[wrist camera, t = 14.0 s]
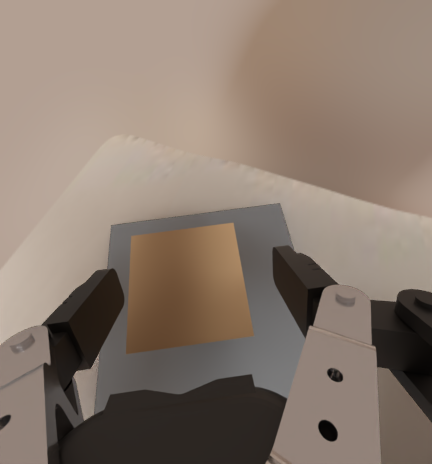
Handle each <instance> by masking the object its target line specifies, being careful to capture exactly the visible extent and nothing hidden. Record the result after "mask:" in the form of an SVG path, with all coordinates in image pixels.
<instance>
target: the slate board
mask: <svg viewBox="0 0 432 464" xmlns="http://www.w3.org/2000/svg"><path fill="white" fill-rule="evenodd" d="M227 223H234V229H235V234H236V240H237V245H238V250H239V256H240V261H241V267H242V272H243V278H244V283H245V289H246V294H247V300H248V305H249V311H250V316H251V321H252V327H253V332H254V336H251V337H244V338H237V339H230V340H223V341H216V342H209V343H202V344H195V345H188V346H181V347H174V348H167V349H160V350H153V351H146V352H139V353H132V354H126V339H127V317H128V296H129V274H130V253H131V236H135V235H143V234H150V233H158V232H166V231H173V230H181V229H188V228H196V227H204V226H211V225H219V224H227ZM285 245H289V246H290V247H291V248H292V249H293V250H294V248H293V245H292V242H291V238H290V235H289V232H288V228H287V225H286V222H285V219H284V215H283V212H282V209H281V205H280V203H278V204H270V205H263V206H255V207H247V208H240V209H232V210H224V211H217V212H209V213H202V214H194V215H186V216H179V217H171V218H163V219H156V220H148V221H141V222H133V223H125V224H118V225H111V234H110V245H109V256H108V267H107V269H111V268H113V269H115V270H116V272H117V275H118V278H119V281H120V284H121V287H122V290H123V293H124V306H123V308H122V310H121V312H120V314H119V316H118V317H117V319H116V321H115V323H114V325H113V327H112V329H111V331H110V333H109V335H108V337H107V338H106V340H105V342H104V344H103V346H102V348H101V350H100V356H99V367H98V378H97V389H96V400H95V411H94V415H95V414H97V413H98V412H100V411H102V410H104V409H105V406H106V404H107V401H108V399H109V396H110V394H117V393H124V392H131V391H137V390H144V389H146V390H153V391H159V392H166V393H172V394H183V393H186V392H188V391H190V390H193V389H195V388H197V387H200V386H202V385H204V384H207V383H209V382H211V381H214V380H216V379H221V378H228V377H234V376H241V375H248V374H252V377H253V381H254V386H255V387H261V388H265V389H268V390H271V391H273V392H276V393H278V394H280V395H282V396H284V397H286V398H287V399H288V396H289V392H290V389H291V386H292V382H293V379H294V376H295V372H296V369H297V366H298V362H299V359H300V356H301V352H302V349H303V346H304V342H305V337H304V336H303V334H302V332H301V330H300V328H299V327H298V325H297V323H296V321H295V320H294V318H293V316H292V314H291V312H290V311H289V309H288V307H287V305H286V303H285V302H284V300H283V298H282V296H281V295H280V293H279V291H278V289H277V287H276V285H275V283H274V279H273V261H272V249H273V247H277V246H285Z"/></svg>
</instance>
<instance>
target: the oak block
mask: <svg viewBox="0 0 432 464" xmlns="http://www.w3.org/2000/svg"><path fill="white" fill-rule="evenodd" d="M251 336H254V332H253V327H252V321H251V316H250V311H249V305H248V300H247V294H246V289H245V283H244V278H243V272H242V267H241V261H240V256H239V250H238V245H237V240H236V234H235V229H234V223H227V224H219V225H211V226H204V227H196V228H188V229H181V230H173V231H166V232H158V233H150V234H143V235H135V236H131V253H130V274H129V296H128V317H127V339H126V354H132V353H139V352H146V351H153V350H160V349H167V348H174V347H181V346H188V345H195V344H202V343H209V342H216V341H223V340H230V339H237V338H244V337H251Z"/></svg>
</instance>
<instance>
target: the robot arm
mask: <svg viewBox="0 0 432 464" xmlns="http://www.w3.org/2000/svg"><path fill="white" fill-rule="evenodd" d="M272 261H273V279H274V283H275V285H276V287H277V289H278V291H279V293H280V295H281V296H282V298H283V300H284V302H285V303H286V305H287V307H288V309H289V311H290V312H291V314H292V316H293V318H294V320H295V321H296V323H297V325H298V327H299V328H300V330H301V332H302V334H303V336H304V337H305V342H304V346H303V349H302V352H301V356H300V359H299V362H298V366H297V369H296V372H295V376H294V379H293V382H292V386H291V389H290V392H289V396H288V399H287V398H286V397H284V396H282V395H280V394H278V393H276V392H273V391H271V390H268V389H265V388H261V387H255V386H254V381H253V377H252V374H248V375H241V376H234V377H228V378H221V379H216V380H214V381H211V382H209V383H207V384H204V385H202V386H200V387H197V388H195V389H193V390H190V391H188V392H186V393H183V394H172V393H166V392H159V391H153V390H146V389H144V390H137V391H131V392H124V393H117V394H110V396H109V399H108V401H107V404H106V406H105V409H104V410H102V411H100V412H98V413H97V414H95V415H93V416H91V417H90V418H88V419H87V420H85V421H84V420H83V415H82V410H81V405H80V400H79V395H78V390H77V386H76V382H75V379H74V377H73V376H74V374H75V372H76V371H78V370H85V369H91V367H92V365H93V363H94V361H95V359H96V357H97V356H98V354H99V352H100V350H101V348H102V346H103V344H104V342H105V340H106V338H107V337H108V335H109V333H110V331H111V329H112V327H113V325H114V323H115V321H116V319H117V317H118V316H119V314H120V312H121V310H122V308H123V306H124V293H123V290H122V287H121V284H120V281H119V278H118V275H117V272H116V270H115V269H113V268H111V269H104V270H97V271H96V272H95V273H94V274H93V275H92V276H91V277H90V278H89V279H88V280H87V281H86V282H85V283H84V284H82V285H81V286H79V287H78V288H76V289H75V290H74V291H73V292H72V293H71V294H70V295H69V298H67V299H66V300H65V301H64V302H63V304H61V305H60V306H59V307H58V308H57V309H56V310H55V311H54V312H53V313H52V314H51V315H50V316H49V318H48V319H47V320H46V321H45V322H44V323H43V324H42V325H41V326H34V327H31V328H28V329H25V330H23V331H21V332H19V333H17V334H15V335H14V336H12V337H10V338H9V339H8V340H6V341H5V342H4V343H3V344H1V345H0V464H381V447H380V425H379V402H378V380H377V367H381V368H387V369H389V370H390V371H391V372H392V373H393V375H394V376H395V377H396V378H397V380H398V381H399V382H400V383H401V385H402V386H403V387H404V388H405V390H406V391H407V392H408V393H409V395H410V396H411V397H412V398H413V400H414V401H415V402H416V403H417V405H418V406H419V407H420V408H421V409H422V411H423V412H424V413H425V414H426V416H427V417H428V418H429V419H430V421H431V422H432V293H431V292H427V291H422V290H414V289H408V290H403V291H401V292H399V293H398V296H397V300H396V302H389V301H376V300H370V299H369V297H368V296H367V295H366V294H365V293H363V292H362V291H360V290H358V289H356V288H353V287H350V286H346V285H339V284H338V283H337V282H335V281H334V280H333V279H332V278H331V277H330V276H329V275H328V274H327V273H326V272H325V271H324V270H323V269H321V267H320V266H319V265H318V264H316V263H315V262H314V261H313V260H312V259H311V258H310V257H308V256H306V255H304V254H302V253H296V252H295V251H294V250H293V249H292V248H291V247H290V246H289V245H285V246H277V247H273V249H272Z"/></svg>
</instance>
